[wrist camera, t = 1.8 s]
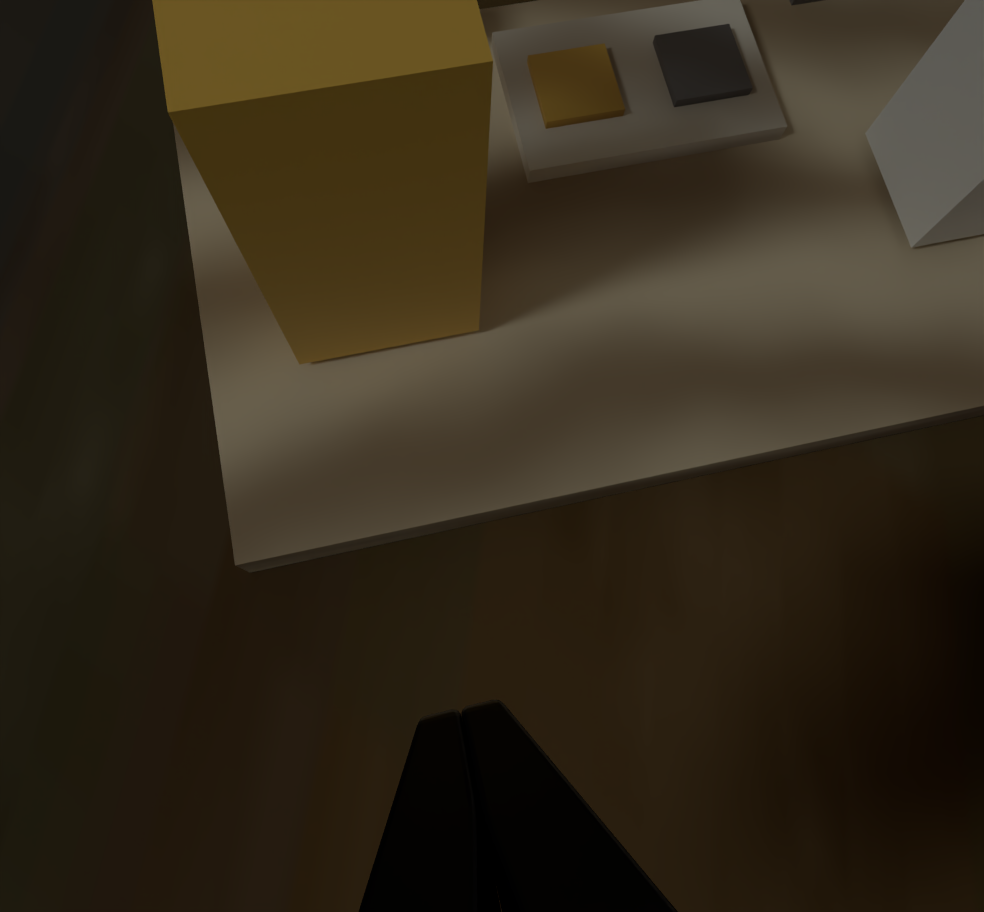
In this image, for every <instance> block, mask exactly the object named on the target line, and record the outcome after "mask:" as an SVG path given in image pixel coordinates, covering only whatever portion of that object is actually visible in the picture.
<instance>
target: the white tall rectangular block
mask: <svg viewBox="0 0 984 912" xmlns="http://www.w3.org/2000/svg"><path fill="white" fill-rule="evenodd" d="M865 134H866V137H867V139H868V142H869V144H870V147H871V149H872V152H873V154H874V157H875V159H876V161H877V164H878V166H879V169H880V171H881V174H882V176H883V179H884V181H885V184H886V186H887V189H888V191H889V194H890V196H891V199H892V201H893V204H894V206H895V209H896V211H897V214H898V216H899V219H900V221H901V224H902V226H903V229H904V231H905V233H906V236H907V238H908V241H909V243H910V246H911V248H913V247H918V246H923V245H928V244H933V243H939V242H944V241H949V240H954V239H960V238H965V237H970V236H975V235H981V234H984V0H965V1H964V2H963V3H962V5H961V6H960V7H959V9H958V10H957V11H956V13H955V14H954V15H953V17H952V18H951V19H950V21H949V22H948V23H947V25H946V26H945V27H944V29H943V30H942V31H941V33H940V34H939V35H938V37H937V38H936V39H935V41H934V42H933V43H932V45H931V46H930V47H929V49H928V50H927V51H926V53H925V54H924V55H923V57H922V58H921V59H920V61H919V62H918V63H917V65H916V66H915V67H914V69H913V70H912V71H911V73H910V74H909V75H908V77H907V78H906V79H905V81H904V82H903V83H902V85H901V86H900V87H899V89H898V90H897V92H896V93H895V94H894V96H893V97H892V98H891V100H890V101H889V102H888V104H887V105H886V106H885V108H884V109H883V110H882V112H881V113H880V114H879V116H878V117H877V118H876V120H875V121H874V122H873V124H872V125H871V126H870V128H869V129H868V130H867V132H866V133H865Z"/></svg>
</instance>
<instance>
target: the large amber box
mask: <svg viewBox="0 0 984 912" xmlns="http://www.w3.org/2000/svg"><path fill="white" fill-rule="evenodd" d="M152 1H153V8H154V16H155V23H156V30H157V37H158V44H159V52H160V59H161V66H162V73H163V80H164V88H165V95H166V102H167V109H168V114H169V115H170V117H171V119H172V121H173V123H174V125H175V127H176V129H177V131H178V133H179V135H180V137H181V138H182V140H183V142H184V144H185V146H186V148H187V150H188V152H189V154H190V156H191V158H192V160H193V161H194V163H195V165H196V167H197V169H198V171H199V173H200V175H201V177H202V179H203V181H204V183H205V184H206V186H207V188H208V190H209V192H210V194H211V196H212V198H213V200H214V202H215V204H216V206H217V207H218V209H219V211H220V213H221V215H222V217H223V219H224V221H225V223H226V225H227V227H228V229H229V230H230V232H231V234H232V236H233V238H234V240H235V242H236V244H237V246H238V248H239V250H240V252H241V253H242V255H243V257H244V259H245V261H246V263H247V265H248V267H249V269H250V271H251V273H252V275H253V276H254V278H255V280H256V282H257V284H258V286H259V288H260V290H261V292H262V294H263V296H264V298H265V299H266V301H267V303H268V305H269V307H270V309H271V311H272V313H273V315H274V317H275V319H276V320H277V322H278V324H279V326H280V328H281V330H282V332H283V334H284V336H285V338H286V340H287V342H288V343H289V345H290V347H291V349H292V351H293V353H294V355H295V357H296V359H297V361H298V363H299V365H300V364H305V363H310V362H315V361H320V360H326V359H331V358H336V357H341V356H347V355H352V354H357V353H362V352H368V351H373V350H378V349H383V348H389V347H394V346H399V345H404V344H410V343H415V342H420V341H425V340H430V339H436V338H441V337H446V336H451V335H457V334H462V333H467V332H472V331H478V330H479V319H480V300H481V281H482V262H483V243H484V225H485V206H486V187H487V168H488V149H489V130H490V111H491V92H492V73H493V59H492V55H491V51H490V47H489V44H488V40H487V36H486V33H485V29H484V25H483V21H482V18H481V14H480V10H479V6H478V3H477V0H152Z"/></svg>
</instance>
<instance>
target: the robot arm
mask: <svg viewBox="0 0 984 912" xmlns="http://www.w3.org/2000/svg"><path fill="white" fill-rule="evenodd" d="M462 720H463V722H462ZM496 886H497V887H496ZM497 891H498V892H497ZM498 895H499V897H498ZM499 900H500V902H499ZM500 904H501V907H500ZM501 909H502V912H677V910H676V909H675V908H674V907H673V906H672V904H671V903H670V902H669V901H668V900H667V898H666V897H665V896H664V895H663V894H662V892H661V891H660V890H659V889H658V888H657V886H656V885H655V884H654V883H653V882H652V880H651V879H650V878H649V877H648V876H647V874H646V873H645V872H644V871H643V870H642V868H641V867H640V866H639V865H638V864H637V862H636V861H635V860H634V859H633V858H632V856H631V855H630V854H629V853H628V852H627V850H626V849H625V848H624V847H623V846H622V844H621V843H620V842H619V841H618V840H617V839H616V837H615V836H614V835H613V834H612V833H611V831H610V830H609V829H608V828H607V827H606V825H605V824H604V823H603V822H602V821H601V819H600V818H599V817H598V816H597V815H596V813H595V812H594V811H593V810H592V809H591V807H590V806H589V805H588V804H587V803H586V801H585V800H584V799H583V798H582V797H581V795H580V794H579V793H578V792H577V791H576V789H575V788H574V787H573V786H572V785H571V783H570V782H569V781H568V780H567V779H566V777H565V776H564V775H563V774H562V773H561V771H560V770H559V769H558V768H557V767H556V765H555V764H554V763H553V762H552V761H551V760H550V758H549V757H548V756H547V755H546V754H545V752H544V751H543V750H542V749H541V748H540V746H539V745H538V744H537V743H536V742H535V740H534V739H533V738H532V737H531V736H530V734H529V733H528V732H527V731H526V730H525V728H524V727H523V726H522V725H521V724H520V722H519V721H518V720H517V719H516V718H515V716H514V715H513V714H512V713H511V712H510V710H509V709H508V708H507V707H506V706H505V705H504V704H503V703H502V702H501V701H499V700H490V701H486V702H482V703H478V704H474V705H469V706H466V707H465V708H464V709H463V710H462V717H461V714H460V713H459V711H457V710H448V711H444V712H440V713H436V714H431V715H427V716H424V717H423V718H421V719H420V721H419V723H418V725H417V728H416V731H415V734H414V737H413V740H412V743H411V747H410V750H409V753H408V756H407V759H406V763H405V766H404V769H403V772H402V775H401V779H400V782H399V785H398V788H397V791H396V794H395V798H394V801H393V804H392V807H391V810H390V814H389V817H388V820H387V823H386V826H385V829H384V833H383V836H382V839H381V842H380V845H379V849H378V852H377V855H376V858H375V861H374V864H373V868H372V871H371V874H370V877H369V880H368V884H367V887H366V890H365V893H364V896H363V899H362V903H361V906H360V909H359V912H501Z"/></svg>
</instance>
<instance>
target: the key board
mask: <svg viewBox="0 0 984 912" xmlns="http://www.w3.org/2000/svg"><path fill="white" fill-rule="evenodd" d="M964 1H965V0H539V1H532V2H525V3H519V4H512V5H506V6H499V7H492V8H486V9H479V10H480V14H481V18H482V21H483V25H484V29H485V33H486V36H487V40H488V44H489V47H490V51H491V55H492V59H493V73H492V92H491V111H490V130H489V149H488V168H487V187H486V206H485V225H484V243H483V262H482V281H481V300H480V319H479V330H478V331H472V332H467V333H462V334H457V335H451V336H446V337H441V338H436V339H430V340H425V341H420V342H415V343H410V344H404V345H399V346H394V347H389V348H383V349H378V350H373V351H368V352H362V353H357V354H352V355H347V356H341V357H336V358H331V359H326V360H320V361H315V362H310V363H305V364H300V365H299V363H298V361H297V359H296V357H295V355H294V353H293V351H292V349H291V347H290V345H289V343H288V342H287V340H286V338H285V336H284V334H283V332H282V330H281V328H280V326H279V324H278V322H277V320H276V319H275V317H274V315H273V313H272V311H271V309H270V307H269V305H268V303H267V301H266V299H265V298H264V296H263V294H262V292H261V290H260V288H259V286H258V284H257V282H256V280H255V278H254V276H253V275H252V273H251V271H250V269H249V267H248V265H247V263H246V261H245V259H244V257H243V255H242V253H241V252H240V250H239V248H238V246H237V244H236V242H235V240H234V238H233V236H232V234H231V232H230V230H229V229H228V227H227V225H226V223H225V221H224V219H223V217H222V215H221V213H220V211H219V209H218V207H217V206H216V204H215V202H214V200H213V198H212V196H211V194H210V192H209V190H208V188H207V186H206V184H205V183H204V181H203V179H202V177H201V175H200V173H199V171H198V169H197V167H196V165H195V163H194V161H193V160H192V158H191V156H190V154H189V152H188V150H187V148H186V146H185V144H184V142H183V140H182V138H181V137H180V135H179V133H178V131H177V129H176V127H175V125H174V123H173V125H174V132H175V139H176V146H177V153H178V160H179V168H180V175H181V182H182V189H183V196H184V203H185V210H186V217H187V225H188V232H189V239H190V246H191V253H192V260H193V267H194V274H195V282H196V289H197V296H198V303H199V310H200V317H201V324H202V332H203V339H204V346H205V353H206V360H207V367H208V374H209V381H210V389H211V396H212V403H213V410H214V417H215V424H216V431H217V438H218V446H219V453H220V460H221V467H222V474H223V481H224V488H225V495H226V503H227V510H228V517H229V524H230V531H231V538H232V545H233V552H234V560H235V565H236V566H238V567H240V568H242V569H244V570H246V571H248V572H255V571H260V570H264V569H269V568H274V567H278V566H283V565H288V564H292V563H297V562H302V561H306V560H311V559H316V558H320V557H325V556H330V555H334V554H339V553H344V552H348V551H353V550H358V549H362V548H367V547H372V546H376V545H381V544H386V543H390V542H395V541H400V540H404V539H409V538H414V537H418V536H423V535H428V534H432V533H437V532H442V531H446V530H451V529H456V528H460V527H465V526H470V525H474V524H479V523H484V522H488V521H493V520H498V519H502V518H507V517H512V516H516V515H521V514H525V513H530V512H535V511H539V510H544V509H549V508H553V507H558V506H563V505H567V504H572V503H577V502H581V501H586V500H591V499H595V498H600V497H605V496H609V495H614V494H619V493H623V492H628V491H633V490H637V489H642V488H647V487H651V486H656V485H661V484H665V483H670V482H675V481H679V480H684V479H689V478H693V477H698V476H703V475H707V474H712V473H717V472H721V471H726V470H731V469H735V468H740V467H745V466H749V465H754V464H759V463H763V462H768V461H773V460H777V459H782V458H787V457H791V456H796V455H801V454H805V453H810V452H814V451H819V450H824V449H828V448H833V447H838V446H842V445H847V444H852V443H856V442H861V441H866V440H870V439H875V438H880V437H884V436H889V435H894V434H898V433H903V432H908V431H912V430H917V429H922V428H926V427H931V426H936V425H940V424H945V423H950V422H954V421H959V420H964V419H968V418H973V417H978V416H982V415H984V234H981V235H975V236H970V237H965V238H960V239H954V240H949V241H944V242H939V243H933V244H928V245H923V246H918V247H913V248H911V246H910V243H909V241H908V238H907V236H906V233H905V231H904V229H903V226H902V224H901V221H900V219H899V216H898V214H897V211H896V209H895V206H894V204H893V201H892V199H891V196H890V194H889V191H888V189H887V186H886V184H885V181H884V179H883V176H882V174H881V171H880V169H879V166H878V164H877V161H876V159H875V157H874V154H873V152H872V149H871V147H870V144H869V142H868V139H867V137H866V134H865V133H866V132H867V130H868V129H869V128H870V126H871V125H872V124H873V122H874V121H875V120H876V118H877V117H878V116H879V114H880V113H881V112H882V110H883V109H884V108H885V106H886V105H887V104H888V102H889V101H890V100H891V98H892V97H893V96H894V94H895V93H896V92H897V90H898V89H899V87H900V86H901V85H902V83H903V82H904V81H905V79H906V78H907V77H908V75H909V74H910V73H911V71H912V70H913V69H914V67H915V66H916V65H917V63H918V62H919V61H920V59H921V58H922V57H923V55H924V54H925V53H926V51H927V50H928V49H929V47H930V46H931V45H932V43H933V42H934V41H935V39H936V38H937V37H938V35H939V34H940V33H941V31H942V30H943V29H944V27H945V26H946V25H947V23H948V22H949V21H950V19H951V18H952V17H953V15H954V14H955V13H956V11H957V10H958V9H959V7H960V6H961V5H962V3H963V2H964Z"/></svg>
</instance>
